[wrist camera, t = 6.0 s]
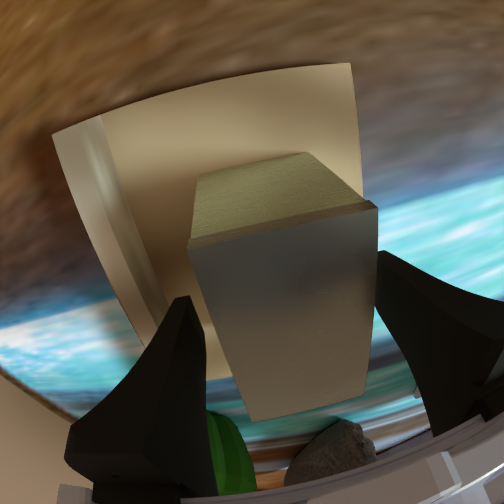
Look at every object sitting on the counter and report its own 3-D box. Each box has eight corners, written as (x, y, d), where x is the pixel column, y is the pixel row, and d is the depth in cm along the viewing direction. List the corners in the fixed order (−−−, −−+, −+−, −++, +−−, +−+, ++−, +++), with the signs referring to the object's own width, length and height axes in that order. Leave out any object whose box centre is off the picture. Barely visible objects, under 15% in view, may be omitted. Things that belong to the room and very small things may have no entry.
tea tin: (196, 173, 12) (186, 249, 7) (310, 149, 12) (379, 207, 7) (238, 322, 17) (252, 422, 11) (324, 302, 17) (364, 393, 11)
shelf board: (353, 332, 20) (374, 374, 17) (187, 369, 20) (186, 416, 17) (339, 63, 12) (379, 61, 8) (85, 120, 12) (47, 136, 8)
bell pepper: (128, 422, 23) (120, 527, 14) (177, 381, 20) (176, 518, 12) (206, 448, 27) (213, 540, 18) (265, 414, 24) (285, 524, 15)
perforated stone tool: (300, 468, 33) (311, 515, 27) (262, 468, 31) (271, 519, 25) (378, 406, 27) (403, 465, 21) (337, 404, 25) (360, 472, 19)
